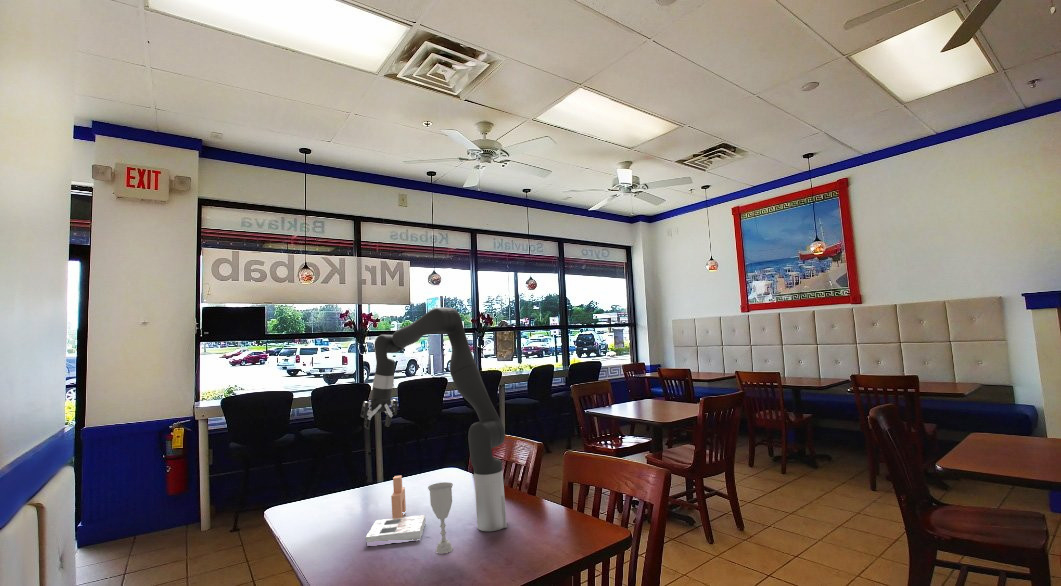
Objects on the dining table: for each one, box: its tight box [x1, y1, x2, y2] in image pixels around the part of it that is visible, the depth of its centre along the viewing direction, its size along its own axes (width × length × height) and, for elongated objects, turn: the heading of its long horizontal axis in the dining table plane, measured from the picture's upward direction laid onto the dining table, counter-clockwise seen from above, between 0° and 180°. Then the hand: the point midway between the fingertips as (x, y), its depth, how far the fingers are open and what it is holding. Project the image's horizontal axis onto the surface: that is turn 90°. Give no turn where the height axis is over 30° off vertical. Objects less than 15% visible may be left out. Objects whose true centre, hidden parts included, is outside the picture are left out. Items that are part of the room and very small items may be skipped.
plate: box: [365, 514, 426, 543], centre depth 156 cm, size 16×14×3 cm
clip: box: [390, 475, 407, 519], centre depth 172 cm, size 3×10×14 cm, turn 5°
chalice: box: [427, 481, 454, 554], centre depth 143 cm, size 7×7×18 cm
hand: (377, 427), depth 191 cm, fingers open, 8 cm apart
